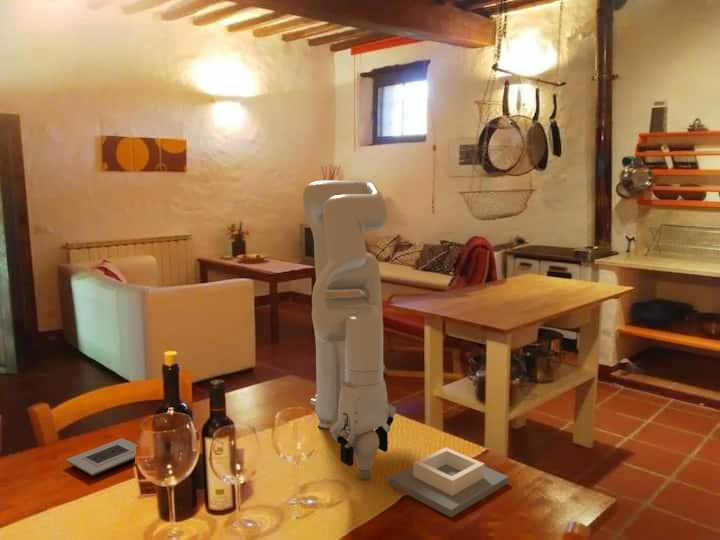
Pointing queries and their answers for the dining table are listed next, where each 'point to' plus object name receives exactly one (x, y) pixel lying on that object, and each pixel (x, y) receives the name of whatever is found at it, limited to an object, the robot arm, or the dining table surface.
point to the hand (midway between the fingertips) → (364, 456)
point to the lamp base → (448, 481)
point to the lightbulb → (365, 452)
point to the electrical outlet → (104, 457)
